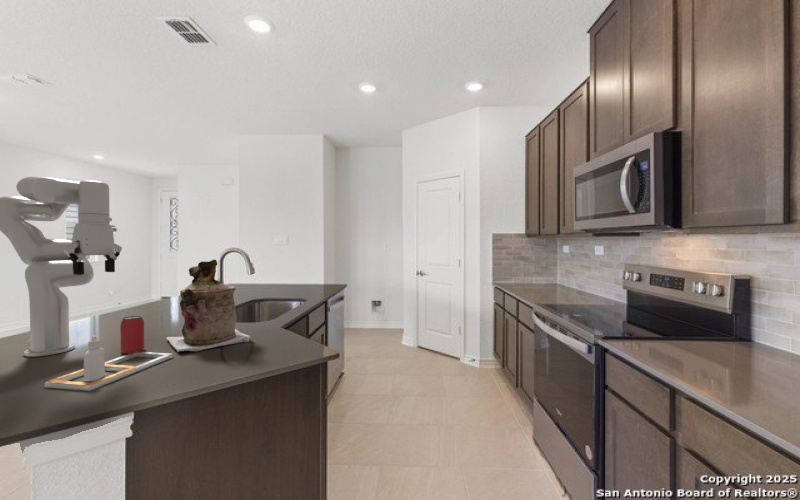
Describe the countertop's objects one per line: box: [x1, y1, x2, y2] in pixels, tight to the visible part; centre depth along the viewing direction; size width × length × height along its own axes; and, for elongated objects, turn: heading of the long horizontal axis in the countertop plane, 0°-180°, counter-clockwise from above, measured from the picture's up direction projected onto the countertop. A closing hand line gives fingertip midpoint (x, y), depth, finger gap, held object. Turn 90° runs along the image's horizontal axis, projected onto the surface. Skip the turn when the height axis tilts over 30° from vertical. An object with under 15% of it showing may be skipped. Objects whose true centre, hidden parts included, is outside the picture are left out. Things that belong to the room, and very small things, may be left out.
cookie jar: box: [165, 258, 252, 353], centre depth 133 cm, size 25×25×32 cm
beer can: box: [119, 315, 145, 355], centre depth 121 cm, size 7×7×12 cm
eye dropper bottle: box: [83, 335, 106, 383], centre depth 97 cm, size 4×6×12 cm
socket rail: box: [44, 351, 174, 392], centre depth 103 cm, size 14×26×1 cm, turn 171°
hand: (94, 273), depth 111 cm, fingers open, 9 cm apart
